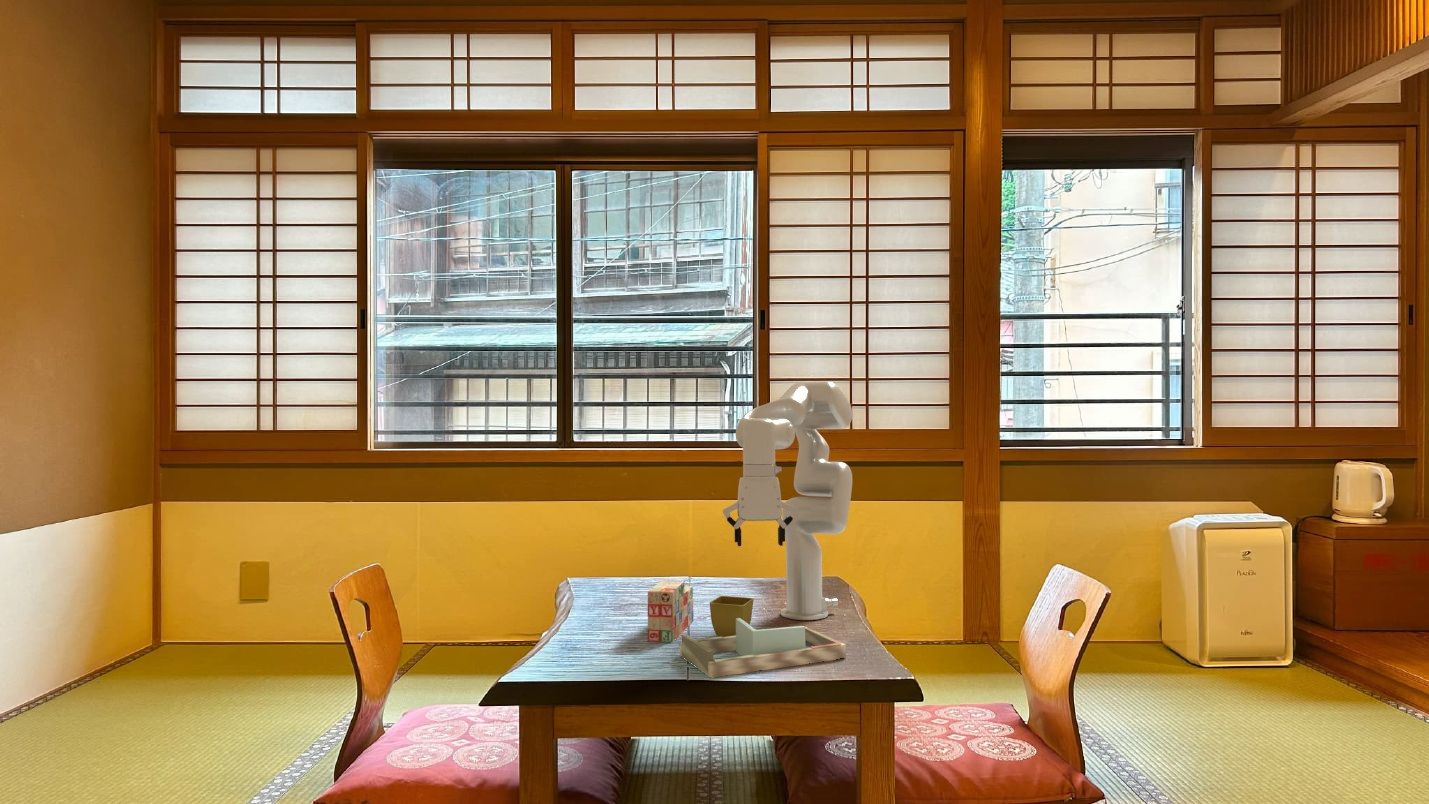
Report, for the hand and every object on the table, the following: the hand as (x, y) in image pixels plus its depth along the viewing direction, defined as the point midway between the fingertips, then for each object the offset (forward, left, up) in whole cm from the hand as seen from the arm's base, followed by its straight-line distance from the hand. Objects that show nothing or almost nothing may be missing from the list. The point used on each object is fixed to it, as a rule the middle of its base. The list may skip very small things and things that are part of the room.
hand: (759, 545), depth 193 cm
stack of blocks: (+14, -22, -24) cm, 35 cm away
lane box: (+4, +8, -23) cm, 25 cm away
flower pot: (+3, -10, -24) cm, 26 cm away
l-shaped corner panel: (+2, +8, -24) cm, 25 cm away
